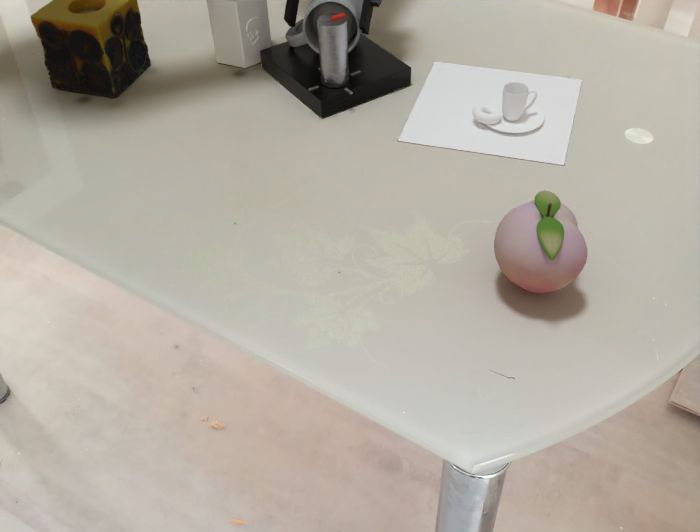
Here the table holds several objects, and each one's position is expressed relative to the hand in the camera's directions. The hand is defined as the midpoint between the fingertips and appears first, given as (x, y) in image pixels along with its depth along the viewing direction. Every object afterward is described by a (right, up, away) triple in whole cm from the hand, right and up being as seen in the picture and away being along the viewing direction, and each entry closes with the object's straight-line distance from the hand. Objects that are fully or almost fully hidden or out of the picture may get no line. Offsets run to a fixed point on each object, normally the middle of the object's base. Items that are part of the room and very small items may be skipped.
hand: (326, 26), depth 101 cm
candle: (-31, -4, +7) cm, 32 cm away
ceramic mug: (0, 0, +5) cm, 5 cm away
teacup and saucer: (+21, -12, -2) cm, 24 cm away
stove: (+1, -5, +4) cm, 7 cm away
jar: (-12, 0, +10) cm, 15 cm away
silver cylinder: (+1, -7, -1) cm, 8 cm away
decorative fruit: (+21, -36, -24) cm, 48 cm away
